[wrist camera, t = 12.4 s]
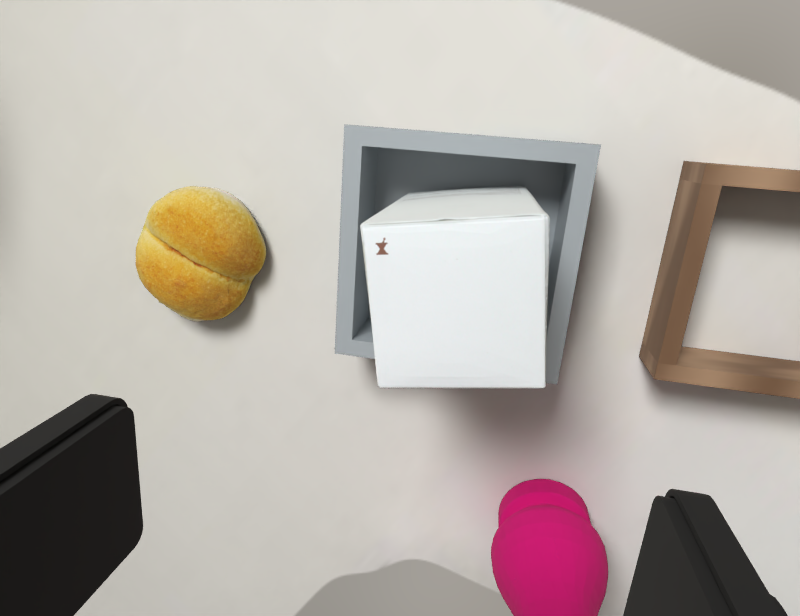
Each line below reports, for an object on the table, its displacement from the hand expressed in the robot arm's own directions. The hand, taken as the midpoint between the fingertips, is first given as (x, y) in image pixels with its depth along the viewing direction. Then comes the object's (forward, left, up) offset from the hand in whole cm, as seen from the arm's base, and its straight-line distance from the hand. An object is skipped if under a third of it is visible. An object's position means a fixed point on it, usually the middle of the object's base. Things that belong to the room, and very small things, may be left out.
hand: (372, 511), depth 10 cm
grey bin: (0, 0, -26) cm, 26 cm away
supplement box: (0, 0, -26) cm, 26 cm away
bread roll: (+17, +2, -27) cm, 32 cm away
